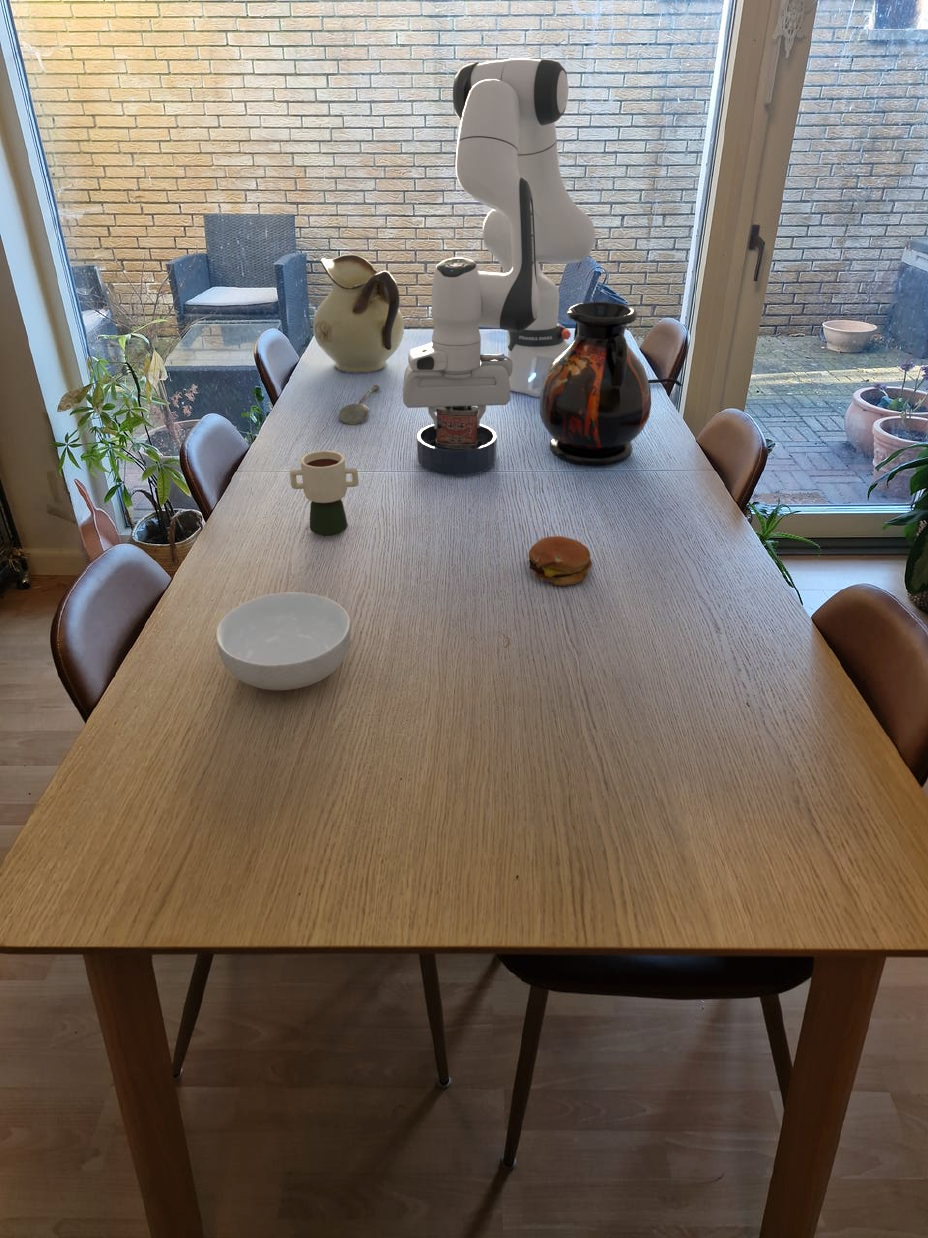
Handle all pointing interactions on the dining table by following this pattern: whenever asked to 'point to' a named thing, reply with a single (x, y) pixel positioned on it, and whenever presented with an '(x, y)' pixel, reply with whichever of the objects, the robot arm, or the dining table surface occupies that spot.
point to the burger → (560, 560)
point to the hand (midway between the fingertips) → (456, 427)
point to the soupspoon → (356, 410)
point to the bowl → (456, 453)
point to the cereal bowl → (284, 640)
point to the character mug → (325, 490)
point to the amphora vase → (596, 389)
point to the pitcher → (358, 315)
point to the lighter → (457, 427)
